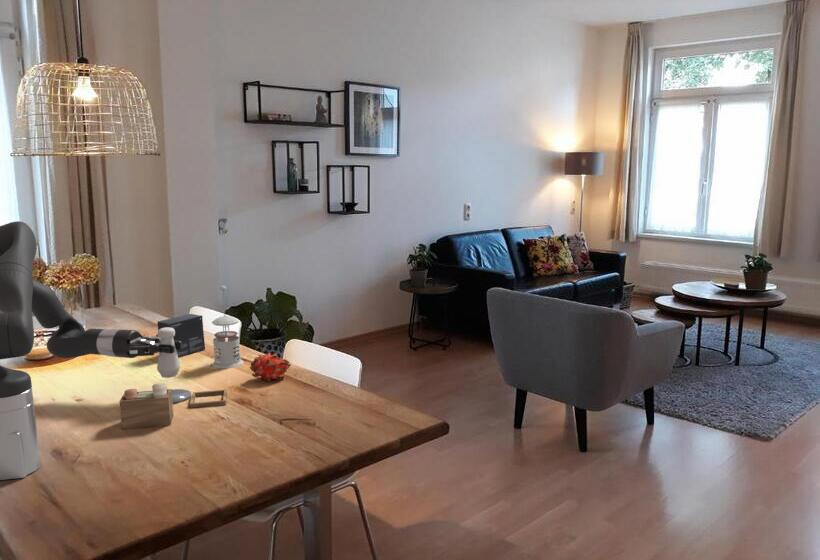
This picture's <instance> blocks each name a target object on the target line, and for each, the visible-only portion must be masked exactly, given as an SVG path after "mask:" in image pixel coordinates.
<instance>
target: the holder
mask: <svg viewBox="0 0 820 560" xmlns="http://www.w3.org/2000/svg"><path fill="white" fill-rule="evenodd" d="M218 395H223V398H222V400H213V401H212V400H211V401H200V402H195V400H196V397H205V396H206V397H208V396H218ZM227 398H228V389H216V390H206V391H193V392H192V393H191V397H190V402H189V409H191V408H202V407H203V408H205V407H215V406H226V404H227Z"/></svg>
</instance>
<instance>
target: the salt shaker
mask: <svg viewBox="0 0 820 560" xmlns="http://www.w3.org/2000/svg"><path fill="white" fill-rule="evenodd" d="M157 334H158V337H159V338H161V341H160V344H165V345H167V344H170V345H174V349H175V352H174V353H164V352H162V353H161V352H160V353H159V354H158V359H157V366H156V369H157V371H158V373H159V374H160V376H161V378H164V379H165V378H166V379H170V378H173V377H176V376H177V375H178V373H179V371H180V368H181V363H180V361H179V360H180V359H179V358H178V355H177V351H176V347H175V343H174V339H173V337H174V336H175V330H174V329H173V328H170V327H166V328H161V329H159V330H158V329H157Z"/></svg>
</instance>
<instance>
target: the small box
mask: <svg viewBox="0 0 820 560" xmlns="http://www.w3.org/2000/svg"><path fill="white" fill-rule="evenodd" d="M203 322H204V321H203V315H199V314H193V313H187V314H183V315H179V316H175V317H171V318H166V319H163V320H159V321H157V323H156V324H157V331H158V330H159V329H161V328H166V327H170V328H173V329H174V330H175V336H174V337H173V339H174V341H181V342H182V348H181V349H180V350H177V349H176V351H177V355H178V359H179V358H183V357H186V356H188V355H192V354H195V353H199V352H201V351H204V350H206V344H205V335H204V323H203Z"/></svg>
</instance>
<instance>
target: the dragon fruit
mask: <svg viewBox="0 0 820 560" xmlns="http://www.w3.org/2000/svg"><path fill="white" fill-rule="evenodd" d="M253 359H254V360H252V361H251V362H250V367H249V368H250V371H251V372H252V374H251V376H252V377H254V378H258V377H260V380H261V381H264V380H265V381H268V382H270V381H271V380H282V379H283V378H284V374H285V373H287V371H288V369H289V368H290V367H291V365H292V364H291V363H290V362H289V360H288V359H285V358H282V357H279V356H278V354H277V353H274V352H273V354H272V355H271V353H269V352H268V353H264V355H262V354H261V353H260V354H258V355H257V357H256V356H255V358H253Z"/></svg>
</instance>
